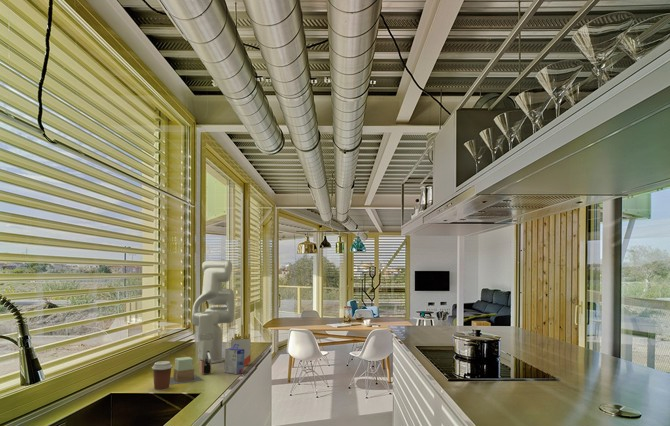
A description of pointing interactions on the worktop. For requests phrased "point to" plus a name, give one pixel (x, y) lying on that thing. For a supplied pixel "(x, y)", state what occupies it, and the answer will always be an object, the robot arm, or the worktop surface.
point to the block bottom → (183, 375)
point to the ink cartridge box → (234, 360)
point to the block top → (183, 363)
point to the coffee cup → (162, 375)
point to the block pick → (201, 367)
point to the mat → (196, 378)
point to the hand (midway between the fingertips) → (205, 371)
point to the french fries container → (243, 346)
